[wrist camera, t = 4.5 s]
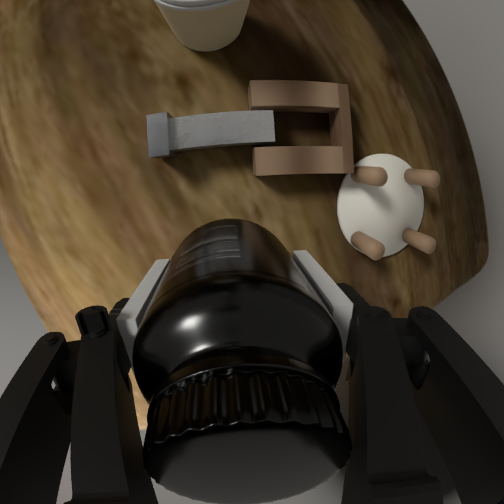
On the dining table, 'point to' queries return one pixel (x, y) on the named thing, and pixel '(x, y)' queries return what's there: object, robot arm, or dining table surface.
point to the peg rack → (384, 206)
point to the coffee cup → (204, 21)
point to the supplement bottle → (239, 372)
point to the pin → (207, 131)
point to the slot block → (304, 100)
